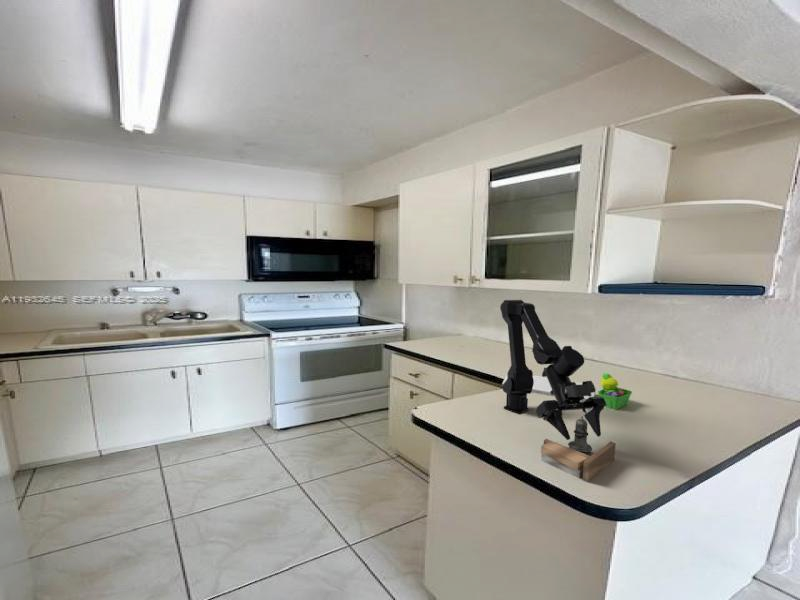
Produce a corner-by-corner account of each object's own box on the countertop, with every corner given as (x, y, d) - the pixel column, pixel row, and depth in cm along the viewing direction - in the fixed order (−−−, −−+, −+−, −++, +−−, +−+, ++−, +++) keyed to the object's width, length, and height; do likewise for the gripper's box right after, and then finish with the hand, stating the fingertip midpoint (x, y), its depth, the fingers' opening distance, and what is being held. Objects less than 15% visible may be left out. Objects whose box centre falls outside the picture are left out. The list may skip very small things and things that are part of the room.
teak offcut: (541, 452, 98) (541, 445, 98) (549, 448, 100) (550, 441, 100) (577, 471, 90) (578, 463, 89) (586, 465, 92) (587, 458, 92)
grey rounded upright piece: (570, 463, 99) (573, 419, 98) (565, 452, 105) (567, 410, 103) (594, 465, 98) (597, 421, 97) (587, 454, 104) (590, 412, 102)
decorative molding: (592, 410, 141) (595, 395, 149) (593, 399, 140) (595, 385, 147) (502, 393, 159) (508, 380, 167) (502, 383, 157) (508, 371, 165)
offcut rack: (534, 463, 99) (535, 441, 98) (563, 444, 109) (564, 425, 108) (587, 487, 89) (588, 463, 88) (613, 464, 98) (615, 443, 98)
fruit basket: (617, 411, 133) (619, 381, 131) (592, 404, 140) (594, 374, 139) (632, 404, 139) (634, 375, 138) (607, 397, 146) (609, 369, 145)
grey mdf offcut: (541, 460, 98) (541, 453, 98) (549, 455, 100) (549, 448, 100) (579, 478, 90) (579, 470, 90) (587, 472, 93) (587, 464, 92)
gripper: (543, 372, 101) (567, 429, 91) (604, 368, 105) (633, 423, 95) (527, 390, 109) (547, 444, 100) (583, 386, 113) (608, 438, 104)
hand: (584, 437), depth 99 cm, fingers open, 9 cm apart
